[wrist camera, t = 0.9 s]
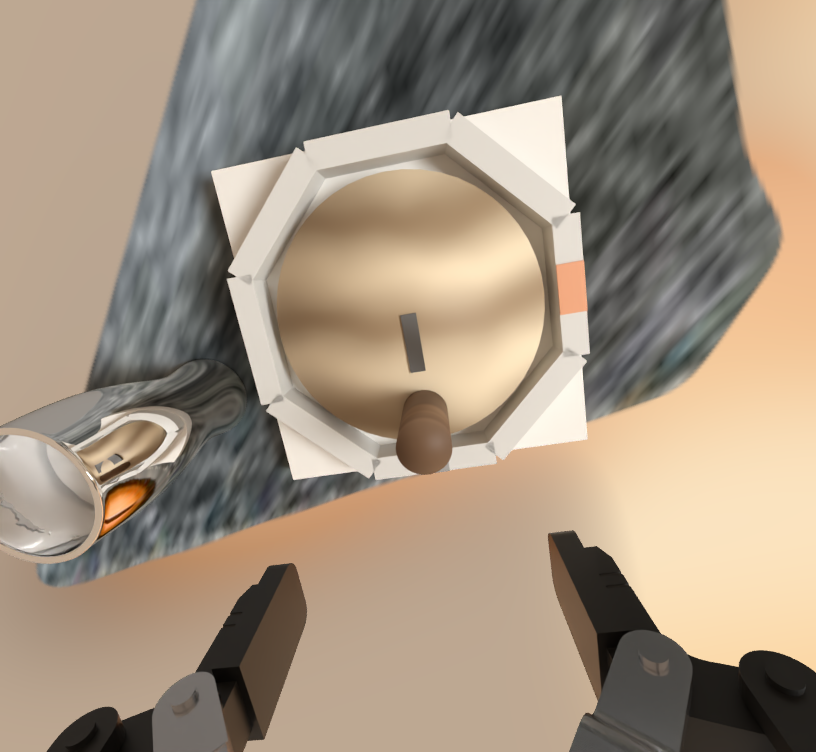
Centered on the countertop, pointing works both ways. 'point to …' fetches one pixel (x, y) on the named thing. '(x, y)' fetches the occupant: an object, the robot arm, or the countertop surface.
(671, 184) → the countertop surface
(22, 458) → the beer glass
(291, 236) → the dial housing
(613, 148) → the countertop surface
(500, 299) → the dial
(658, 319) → the countertop surface
